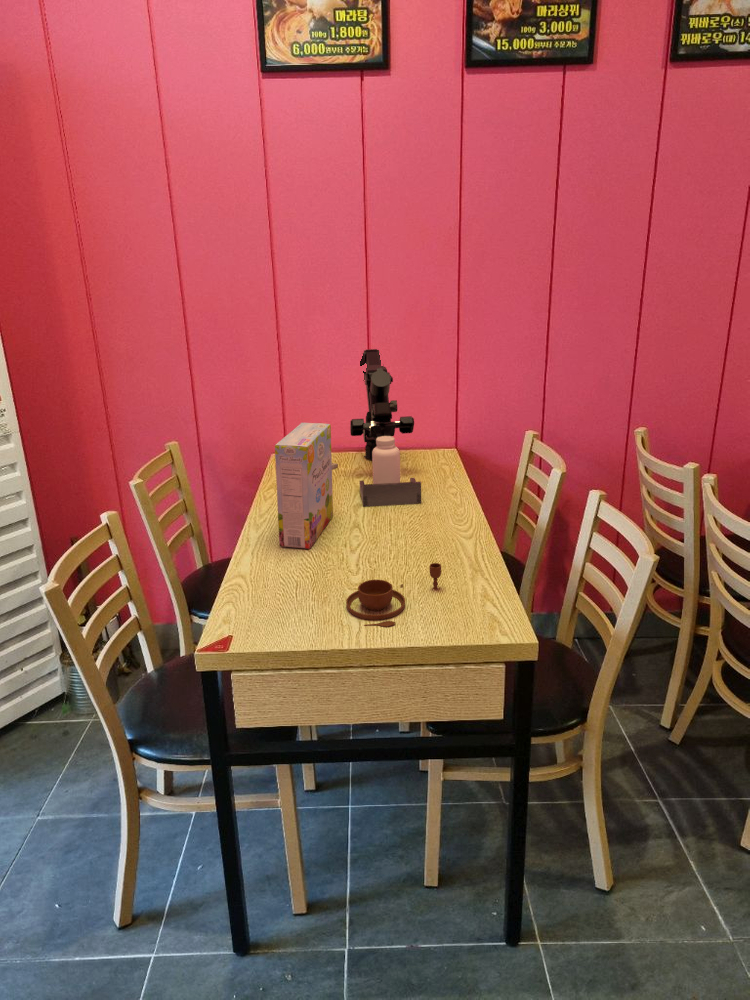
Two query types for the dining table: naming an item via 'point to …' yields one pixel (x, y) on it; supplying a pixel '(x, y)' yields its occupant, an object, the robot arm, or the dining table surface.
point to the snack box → (304, 484)
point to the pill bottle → (386, 461)
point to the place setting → (383, 597)
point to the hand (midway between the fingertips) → (384, 451)
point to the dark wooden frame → (391, 493)
